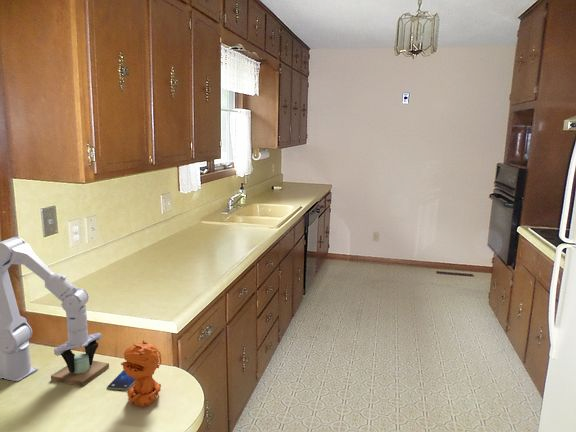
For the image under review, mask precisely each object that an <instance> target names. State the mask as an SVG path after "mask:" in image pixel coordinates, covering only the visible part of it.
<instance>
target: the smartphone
mask: <svg viewBox="0 0 576 432" xmlns="http://www.w3.org/2000/svg"><path fill="white" fill-rule="evenodd" d="M135 380H136V379H133V378H132V377H131V376H128V375H127V374H126V372H125V371H124V369H123V370H122V371H121V372H120V373H119V374H118V375H117V376H115V378H114V379H113V380H112V381H111V382H110V383H109V384H108V385H107V386H106V390H107V391H119V392H127V390H129V389H130V388H131V387H132V386H133V384H134V382H135Z"/></svg>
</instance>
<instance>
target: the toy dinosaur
mask: <svg viewBox="0 0 576 432" xmlns="http://www.w3.org/2000/svg"><path fill="white" fill-rule="evenodd" d="M132 344H133V345H131V346H129V347H127V348H126V349H125V350H124V352H123V356H124V360H125V361H122V362H120V366H122V369H123V370H124V371H125V372H126V374H127V375H128V376H131V377H132V378H133V379H136V380H135V382H134V384H133V386H132V387H131V388H130V389H129V390H127V391H126V396H127V402H129V403H130V405H132V403H133V404H134V405H135V406H138V405H139V407H144V406H148V405H151V404H152V403H153V402H155V399H156V397H158V398H160V395H159V394H160V393H159V392H161V388H162V385H161V384H162V383H158V382H157V381H156V380H155V378H154V377H153V376H154V374H155V372H156V370H157V369H159V368H160V366H161V365H162V356H161V355H162V354H161V352H160V351H159V349H158V348H157V347H156V346H155V345H154V344H152V343H148V342H145V341H144V340H142V343H135V342H133V343H132Z"/></svg>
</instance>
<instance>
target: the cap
mask: <svg viewBox="0 0 576 432" xmlns="http://www.w3.org/2000/svg"><path fill="white" fill-rule="evenodd" d="M89 369H90V365H89V356H88V354H86V353H77V354H75V356H74V372H73V373H77V374H79V373H83V372H86V371H87V370H89Z"/></svg>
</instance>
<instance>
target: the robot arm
mask: <svg viewBox="0 0 576 432" xmlns="http://www.w3.org/2000/svg"><path fill="white" fill-rule="evenodd" d="M12 265H23V266H25V268H27V269H28V270H30V271H31V272H32V273H33V274H35V275H36V276H38V278H40V279H42V281H43V282H44V288H46V289H47V290H48V291H49V292H50V293H51V294H52V295H53V296H54V297H56V299H57V300H60V302H61V304H60V306H61V307H62V309H63V311H65V314H66V315H65V316H66V317H65V318H66V326H67V341H66V342H64V343H62V344H61V345H58V346H56V347H55V348H53V354H54V355H55V356H57V357H58V356H61V357H62V359H63V360H64V363H65V365H66V366H68V369H69V371H70V372H71V373H73V372H74V356H75V355H76V354H75V353H73V351H72V350H75V349H79V348H84V350H85V351H84V353H85V354H88V356H89V365H92V362H93V361H94V357H95V354H96V351H97V349H98V347H99V342H97V341H102V339H103V338H102V333H100V332H96V333H93V334H88V333H89V331H88V318H87V317H88V316H87V305H86V304H87V303H88V301H89V294H88V293H87V291H86V290H85V289H84V288H82V287H77V286H76V285H74V284H73V283H72V282H70V280H68V279H67V276H66V275H65V274H61V273H59V272H58V273H56V272H53V270H51V269H50V267H49V266H47V264H45V262H44V261H43V260H42V259H41V258H40V257H39V256H38V255H37V254H36V253H35V252H34V251H33V248H32V246H31V245H30V243H28V242H26V241H25V240H24V239H23V238H22V237H20V236H12V237H10V238H8V239H7V238H6V239H5V240H2V241H0V379H2V378H4V379H3V380H9V381H14V382H19V381H21V380H22V379H24V378H26V377H27V376H29V375H31V374H33V373H34V372H36V371H38V370H39V369H38V367H36V366H35V367H34V366H32V364H31V363H32V362H31V352H30V339H31V338H32V336H33V329H32V327H31V326H30V324H29V323H28V320H27V318H26V317H24V316H22V315H20V309H19V307H18V303H17V299H16V295H15V291H14V287H13V285H12V281H11V278H10V273H9V268H10V267H11V266H12Z"/></svg>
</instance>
